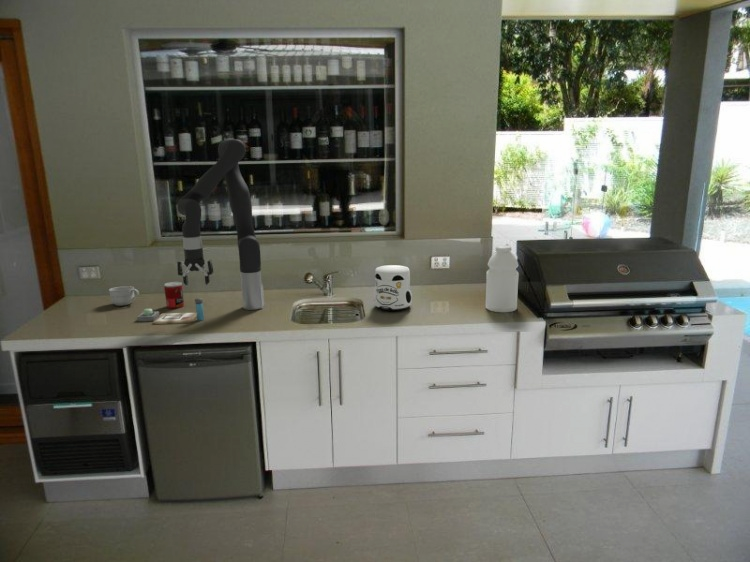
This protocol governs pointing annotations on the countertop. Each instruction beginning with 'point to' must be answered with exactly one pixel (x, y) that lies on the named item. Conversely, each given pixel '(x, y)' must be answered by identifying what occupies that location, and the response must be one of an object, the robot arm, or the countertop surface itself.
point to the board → (175, 318)
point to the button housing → (148, 317)
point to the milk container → (392, 287)
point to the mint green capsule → (148, 312)
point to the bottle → (502, 281)
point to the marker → (199, 309)
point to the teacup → (123, 295)
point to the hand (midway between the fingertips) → (196, 284)
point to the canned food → (174, 295)
